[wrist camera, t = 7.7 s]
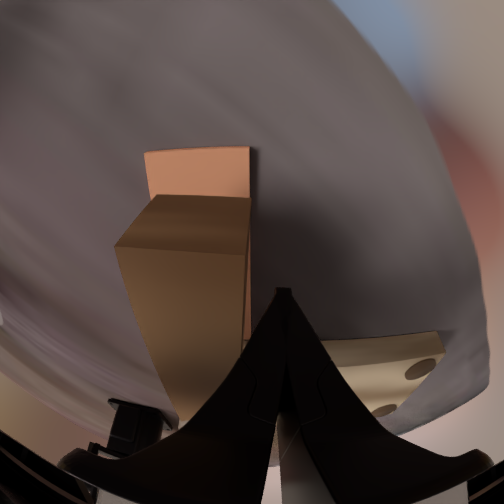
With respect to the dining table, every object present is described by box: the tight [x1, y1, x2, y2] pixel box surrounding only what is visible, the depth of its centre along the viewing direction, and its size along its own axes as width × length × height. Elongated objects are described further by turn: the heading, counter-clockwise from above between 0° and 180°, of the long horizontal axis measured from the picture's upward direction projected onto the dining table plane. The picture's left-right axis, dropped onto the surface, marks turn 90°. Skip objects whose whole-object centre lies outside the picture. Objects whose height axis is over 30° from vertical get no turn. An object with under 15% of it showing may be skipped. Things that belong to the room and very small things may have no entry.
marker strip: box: [144, 146, 251, 340], centre depth 12 cm, size 10×4×1 cm, turn 0°
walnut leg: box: [114, 194, 252, 429], centre depth 11 cm, size 14×4×3 cm, turn 177°
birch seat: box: [243, 331, 446, 425], centre depth 17 cm, size 10×17×2 cm, turn 90°
